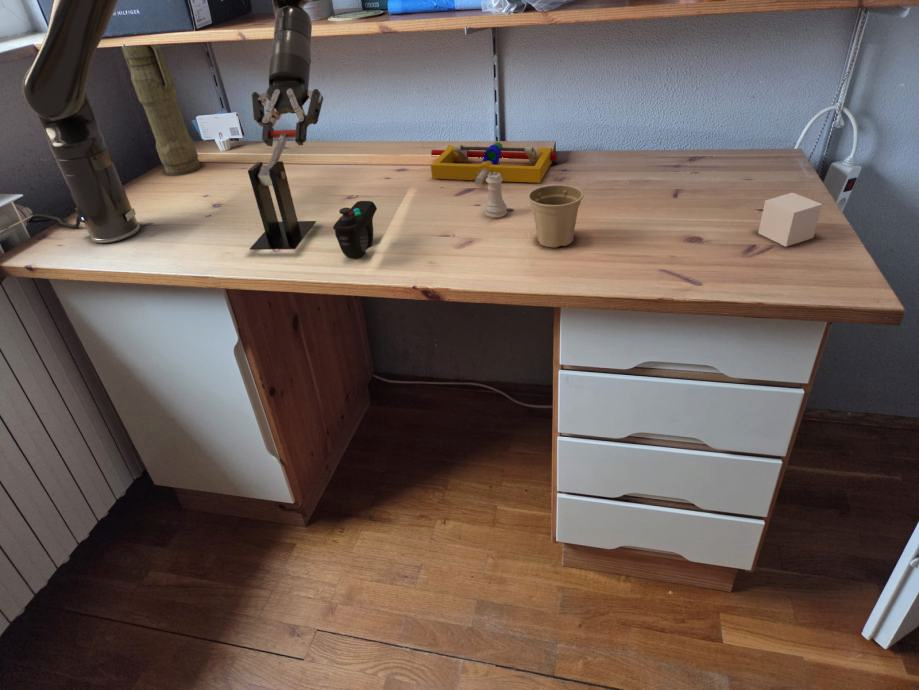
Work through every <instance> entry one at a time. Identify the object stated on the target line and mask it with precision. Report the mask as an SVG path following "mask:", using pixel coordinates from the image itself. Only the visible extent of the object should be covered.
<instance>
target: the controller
mask: <svg viewBox="0 0 919 690" xmlns="http://www.w3.org/2000/svg"><path fill="white" fill-rule="evenodd" d="M377 209H378V207H377V206H376V204H375V202H374V201H371V200H359V201H356V202H355V203H354V204H353V206H351V207H341V208H340V209H339V211H338V212H339V214H340V215H341V216H340V217H338V218H339V219H337V221H336V222H335V223H334V225H333V227H332V229H333V230H334V235H335V238H336V240H337V242H338V245H339V248H340V250H341V252H342V254H343V255H344V256H345V257H347V258H348V259H360V258H363V257H364V256H366V252H367V250H368V249H370V248H371V247H372V246H373V242H374V225H373V224H374V222H373V220H374V217H375V214H376V212H377Z"/></svg>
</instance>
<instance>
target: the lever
mask: <svg viewBox="0 0 919 690" xmlns="http://www.w3.org/2000/svg"><path fill="white" fill-rule="evenodd" d="M270 136H271V138H272V139H273V140H274V139H277V143H276V145H275V147H274V150H273V152H272V154H271V156H270V159H269V161H268V164H265V165H264V164H263V165H262V167H261V169H260V171H259V174H258V177H259V179H260V181H261V183H262V185H263V186H269V187H271V186H272V187H273V185H272V181H271V177H270V173H269V169H270V168H271V167H272V166H273V165H275V164H276V163H277V162H278V161H280V158H281V156H282V154H283V151H284V149H285V146H286V143H287V141H288V139H292V138H293V139H295V136H296V129H277V130H276V129H274V131H270Z"/></svg>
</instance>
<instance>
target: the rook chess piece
mask: <svg viewBox="0 0 919 690" xmlns="http://www.w3.org/2000/svg"><path fill="white" fill-rule="evenodd" d="M487 176H488V177H487V179H486V182H485V183H487V184H488V185H487V189H488V197H487V202H486V204H485V206H484V214H485V216H486V217H487V218H489V219H490V218H491V219H499V218H500V219H501V218H503V217H505V216H506V214H507V213H508V210H507V207H508V206H507V204H506V203H505V200H504V198H503V195H502V188H503V186H502V182H503V181H502V180H503V178H502V177H501V174H500V173H497V175H496V172H493V175H492V173H489V175H487Z"/></svg>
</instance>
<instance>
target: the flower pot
mask: <svg viewBox="0 0 919 690" xmlns="http://www.w3.org/2000/svg"><path fill="white" fill-rule="evenodd" d="M584 196H585V195H584V192H583V190H582V189H581V188H579V187H577V186H574V185H569V184H548V185H542V186H538V187H535V188H534V189H532V190H530V191H529V192H528V194H527V199H528V201H529V202H530V207H531V209H532V212H533V218H534V224H535V230H536V236H537V238H536V239H537V241H538V243H539V244H540V245H541V246H543V247H546V248H553V249H554V248H558V247H561V246H562V247H566V246H568V245H570V244H571V243H572V242H573V241H574V236H575V235H574V234H575V230H576V229H575V228H576V223H577V217H578V212H579V207H580V206H581V203H582V200H583V199H584Z"/></svg>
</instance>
